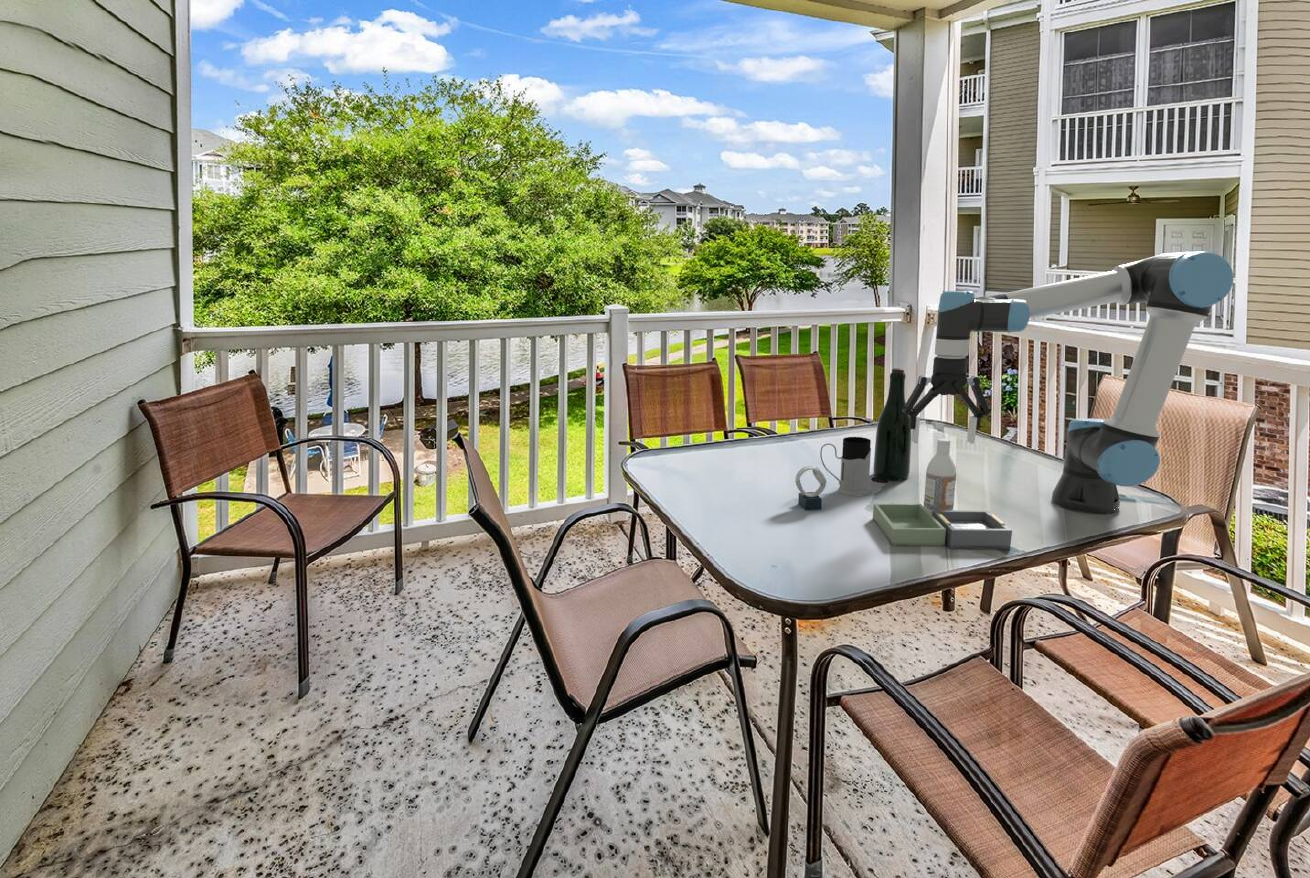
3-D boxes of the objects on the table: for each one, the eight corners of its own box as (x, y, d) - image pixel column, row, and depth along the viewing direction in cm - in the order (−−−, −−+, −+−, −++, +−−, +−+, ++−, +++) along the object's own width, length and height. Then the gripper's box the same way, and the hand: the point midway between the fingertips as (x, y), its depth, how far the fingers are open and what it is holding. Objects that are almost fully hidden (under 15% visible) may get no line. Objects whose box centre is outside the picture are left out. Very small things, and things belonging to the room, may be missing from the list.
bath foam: (941, 522, 168) (948, 444, 163) (917, 515, 173) (923, 439, 169) (958, 517, 172) (965, 440, 167) (933, 509, 177) (940, 435, 172)
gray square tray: (985, 528, 164) (987, 509, 163) (1010, 549, 151) (1012, 529, 150) (930, 528, 165) (932, 509, 163) (950, 549, 152) (952, 528, 151)
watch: (828, 509, 179) (830, 469, 176) (799, 511, 178) (800, 470, 175) (820, 502, 184) (821, 463, 182) (791, 504, 183) (793, 465, 181)
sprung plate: (982, 524, 162) (982, 521, 162) (1000, 540, 152) (1001, 536, 152) (939, 524, 163) (940, 520, 162) (955, 539, 153) (955, 536, 153)
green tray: (919, 518, 171) (920, 503, 170) (944, 546, 154) (945, 529, 153) (872, 518, 171) (873, 503, 170) (892, 545, 154) (893, 529, 153)
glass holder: (872, 496, 189) (875, 444, 185) (819, 494, 191) (821, 442, 188) (868, 486, 197) (871, 436, 193) (817, 485, 199) (819, 435, 196)
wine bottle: (875, 480, 202) (882, 370, 195) (870, 471, 212) (876, 366, 205) (912, 481, 201) (920, 371, 193) (905, 472, 211) (913, 366, 203)
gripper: (997, 354, 166) (987, 438, 171) (893, 354, 167) (887, 438, 172) (1011, 358, 159) (1000, 446, 164) (902, 358, 160) (895, 445, 165)
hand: (942, 442), depth 168 cm, fingers open, 13 cm apart
